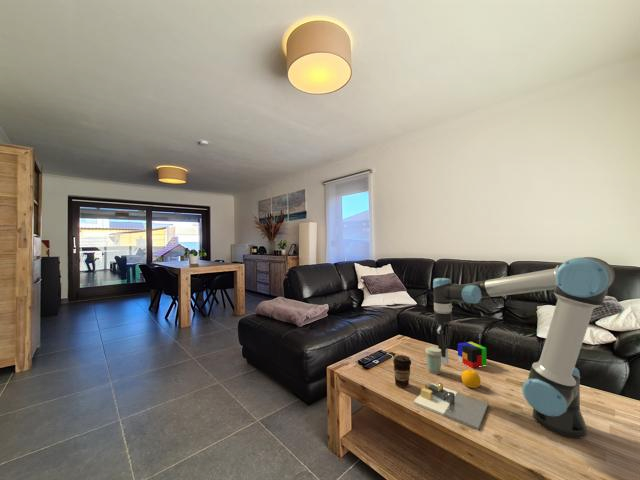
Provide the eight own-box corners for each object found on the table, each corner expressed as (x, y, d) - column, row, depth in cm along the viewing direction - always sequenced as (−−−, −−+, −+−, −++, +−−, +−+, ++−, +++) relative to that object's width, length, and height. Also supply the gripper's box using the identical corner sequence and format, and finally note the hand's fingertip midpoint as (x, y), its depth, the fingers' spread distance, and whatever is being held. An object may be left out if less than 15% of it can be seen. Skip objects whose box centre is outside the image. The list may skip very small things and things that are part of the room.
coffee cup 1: (412, 390, 122) (412, 362, 122) (393, 388, 124) (393, 361, 124) (410, 381, 130) (410, 354, 131) (392, 379, 132) (392, 353, 132)
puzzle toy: (457, 360, 153) (457, 343, 153) (471, 358, 156) (471, 341, 156) (472, 368, 144) (472, 350, 144) (486, 366, 147) (486, 348, 147)
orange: (484, 390, 122) (484, 374, 122) (467, 390, 122) (467, 374, 122) (474, 381, 130) (474, 366, 130) (458, 381, 130) (458, 366, 130)
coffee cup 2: (441, 377, 134) (441, 353, 135) (424, 372, 139) (423, 349, 139) (443, 370, 142) (443, 347, 142) (426, 366, 146) (426, 344, 146)
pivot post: (455, 404, 112) (455, 393, 112) (453, 407, 110) (453, 396, 110) (448, 401, 114) (448, 391, 114) (446, 404, 112) (446, 393, 112)
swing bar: (447, 397, 114) (447, 385, 114) (443, 400, 113) (443, 387, 113) (429, 388, 122) (429, 377, 122) (425, 390, 120) (425, 379, 120)
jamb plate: (488, 405, 111) (488, 402, 111) (478, 430, 96) (478, 427, 96) (457, 394, 119) (457, 392, 119) (443, 416, 104) (443, 413, 104)
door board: (457, 394, 119) (457, 385, 119) (443, 416, 104) (443, 405, 104) (430, 384, 127) (430, 376, 127) (413, 403, 112) (413, 394, 112)
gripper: (446, 315, 116) (448, 370, 115) (456, 310, 125) (458, 361, 124) (429, 313, 121) (430, 365, 120) (440, 308, 130) (441, 356, 129)
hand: (444, 363), depth 122 cm, fingers closed
